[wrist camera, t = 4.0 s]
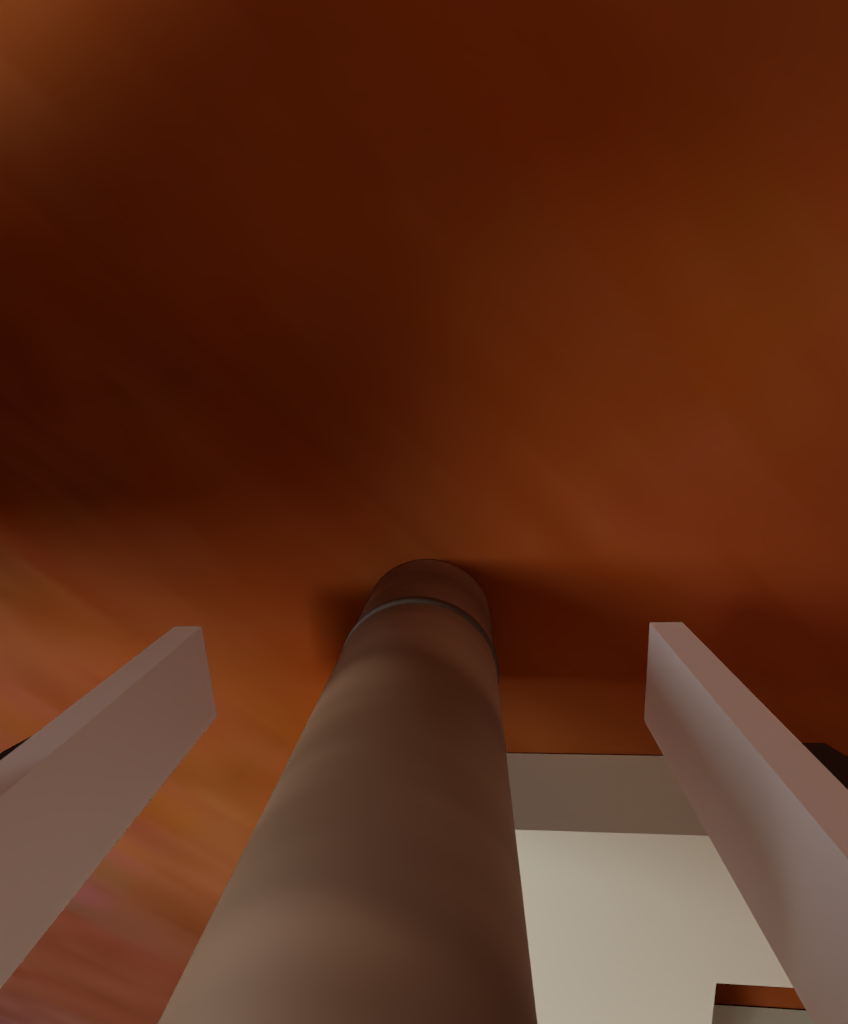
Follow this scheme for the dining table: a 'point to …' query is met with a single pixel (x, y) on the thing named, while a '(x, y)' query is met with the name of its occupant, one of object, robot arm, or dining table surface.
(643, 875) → the board
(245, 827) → the dining table surface
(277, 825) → the peg
